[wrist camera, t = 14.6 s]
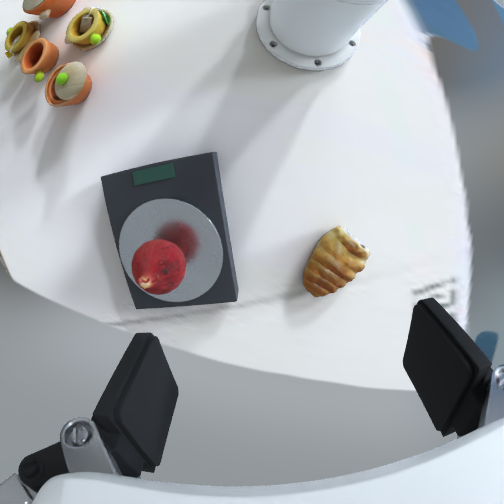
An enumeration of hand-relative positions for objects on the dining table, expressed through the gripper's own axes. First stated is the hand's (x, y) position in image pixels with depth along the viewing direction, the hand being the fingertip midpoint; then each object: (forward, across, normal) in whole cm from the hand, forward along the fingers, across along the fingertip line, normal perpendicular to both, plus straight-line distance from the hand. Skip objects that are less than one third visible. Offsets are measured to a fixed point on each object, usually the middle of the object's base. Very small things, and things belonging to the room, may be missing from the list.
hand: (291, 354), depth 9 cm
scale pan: (+23, +12, +4) cm, 26 cm away
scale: (+26, +12, +2) cm, 29 cm away
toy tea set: (+26, +25, -30) cm, 47 cm away
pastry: (+26, -8, +8) cm, 29 cm away
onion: (+23, +12, +4) cm, 26 cm away
